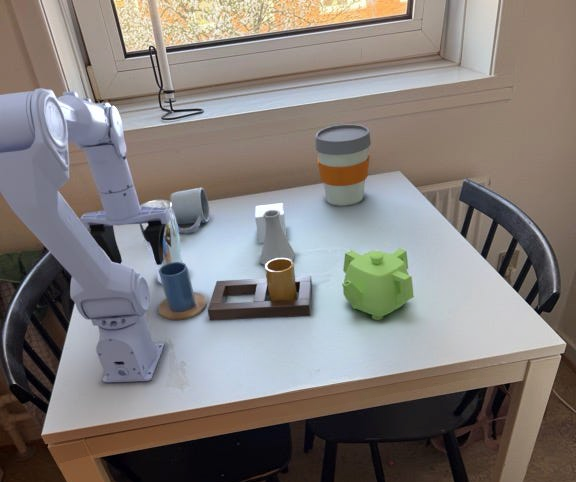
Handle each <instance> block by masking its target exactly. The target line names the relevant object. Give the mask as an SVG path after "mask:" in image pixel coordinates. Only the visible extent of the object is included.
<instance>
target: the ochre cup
mask: <svg viewBox="0 0 576 482" xmlns="http://www.w3.org/2000/svg"><path fill="white" fill-rule="evenodd" d="M293 261H294V260H293ZM293 261H292V260H290V259H288V258H276V259H272V260H270V261H268V262H267V263H266V264H265V265H264V271H265V278H266V279H267V286H268V293H269V297H268V301H279V300H298V292H297V290H296V280H295V277H296V273H295V262H293Z"/></svg>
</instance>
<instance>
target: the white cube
mask: <svg viewBox="0 0 576 482" xmlns="http://www.w3.org/2000/svg"><path fill="white" fill-rule="evenodd" d="M254 210H255V211H254V212H255V213H254V214H255V215H254V219H255V225H256V232H257V238H258V244H264V239H265V234H266V221H265V218H264V217H263V214H264V212H266V211H268V210H277V211H280V215H279V220H280V224H281V227H282V230H283V232H284V234H285V236H286V237H287V227H286V218H285V209H284V203H283V202H278V203H271V204H270V203H269V204H262V205H255V209H254Z"/></svg>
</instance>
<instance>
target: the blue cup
mask: <svg viewBox="0 0 576 482" xmlns="http://www.w3.org/2000/svg"><path fill="white" fill-rule="evenodd" d="M182 262H183V261H182ZM182 262H173V263H169V264H166V265H164V266H162V267H161V268H160V270H159V274H160V278H161V281H162V284H161V285H162V288H163V291H164V295H165V299H167V302H168V305H169V308H170V310H171V311H174V312H184V311H187V310H189V309H191V308H193V307H194V306H195V303H196V301H195V297H194V293H193V292H194V288H193V284H192V281H191V277H190V274H189V273H190V272H189V269H188V266H187V264H186V263H185V262H183V263H182Z"/></svg>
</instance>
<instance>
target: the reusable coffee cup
mask: <svg viewBox="0 0 576 482" xmlns="http://www.w3.org/2000/svg"><path fill="white" fill-rule="evenodd" d="M314 141H315V144H314V145H315V147H314V149H315V150H316V152H317V161H316V162H317V167H318V172H319V177H320V181H321V182H322V184H323V190H324V195H325V200H326V202H327V203H328V204H330V205H333V206H339V207H340V206H341V207H342V206H351V205H356V204H358V203H359V202H361V201H362V200H363V199H364V194H365V185H366V179H367V178H368V175H369V166H370V154H369V149H370V146H371V144H372V142H371V134H370V129H369V128H368V127H367V126H364V125H362V124H356V123H355V124H353V123H348V124H347V123H346V124H336V125H331V126H327V127H324V128H322V129H319V131H317V132H316V133H315V140H314Z"/></svg>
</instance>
